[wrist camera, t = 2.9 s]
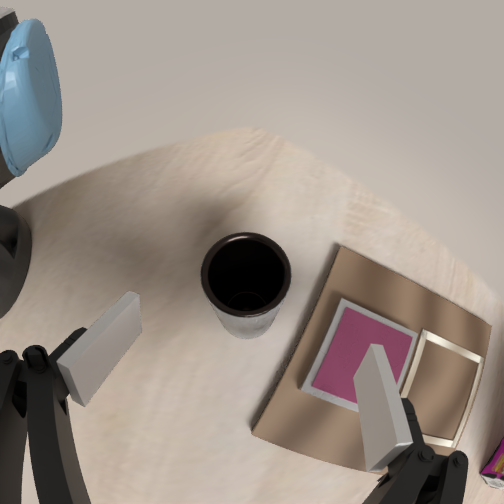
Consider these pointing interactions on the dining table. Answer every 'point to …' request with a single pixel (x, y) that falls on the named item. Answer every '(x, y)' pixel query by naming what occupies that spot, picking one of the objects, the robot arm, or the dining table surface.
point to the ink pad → (354, 352)
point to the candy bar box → (495, 469)
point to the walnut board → (414, 382)
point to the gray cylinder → (246, 282)
